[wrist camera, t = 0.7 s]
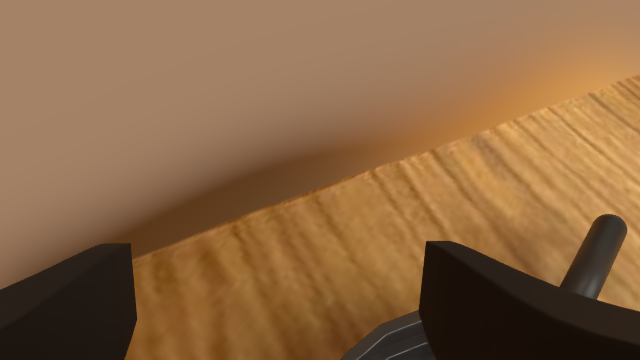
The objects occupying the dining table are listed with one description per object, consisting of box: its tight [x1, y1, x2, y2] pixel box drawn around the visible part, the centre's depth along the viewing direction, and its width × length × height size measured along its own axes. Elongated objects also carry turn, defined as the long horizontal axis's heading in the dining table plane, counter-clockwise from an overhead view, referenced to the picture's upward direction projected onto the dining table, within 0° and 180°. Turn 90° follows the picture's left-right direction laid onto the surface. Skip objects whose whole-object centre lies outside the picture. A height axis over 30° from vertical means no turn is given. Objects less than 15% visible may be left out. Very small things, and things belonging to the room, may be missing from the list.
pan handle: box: [560, 214, 627, 300], centre depth 26 cm, size 11×2×2 cm, turn 141°
